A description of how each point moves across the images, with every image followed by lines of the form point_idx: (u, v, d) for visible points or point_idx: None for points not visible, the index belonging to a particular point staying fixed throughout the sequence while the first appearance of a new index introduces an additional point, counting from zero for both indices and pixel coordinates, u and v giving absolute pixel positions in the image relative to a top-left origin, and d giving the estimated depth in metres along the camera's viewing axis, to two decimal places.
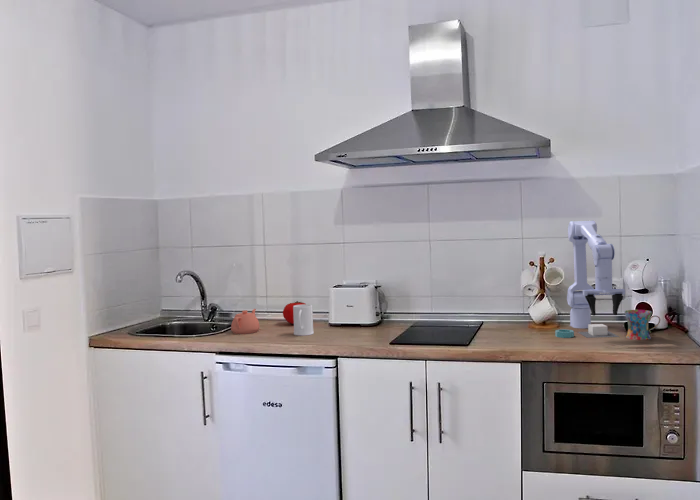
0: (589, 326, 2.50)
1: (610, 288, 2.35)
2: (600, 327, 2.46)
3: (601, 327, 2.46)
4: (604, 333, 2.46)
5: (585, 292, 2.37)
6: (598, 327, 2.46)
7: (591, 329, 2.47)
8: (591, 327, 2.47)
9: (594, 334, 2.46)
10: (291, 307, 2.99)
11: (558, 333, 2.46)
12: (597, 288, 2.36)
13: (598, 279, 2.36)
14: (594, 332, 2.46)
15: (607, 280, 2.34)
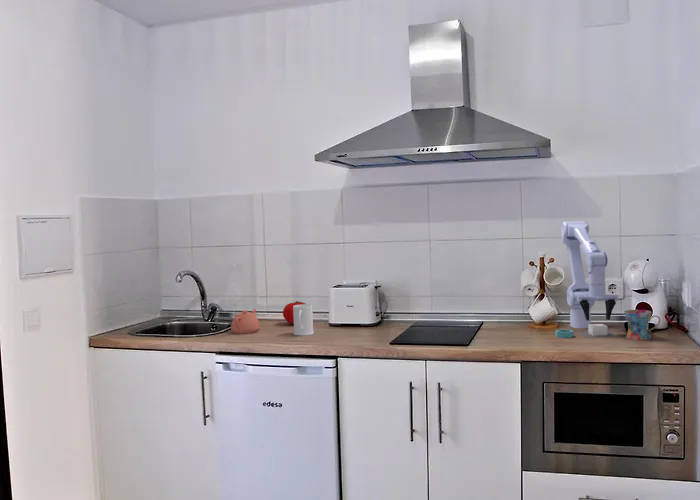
0: (589, 326, 2.50)
1: (603, 294, 2.45)
2: (600, 327, 2.46)
3: (601, 327, 2.46)
4: (604, 333, 2.46)
5: (579, 298, 2.47)
6: (598, 327, 2.46)
7: (591, 329, 2.47)
8: (591, 327, 2.47)
9: (594, 334, 2.46)
10: (291, 307, 2.99)
11: (558, 333, 2.46)
12: (591, 294, 2.47)
13: (592, 285, 2.46)
14: (594, 332, 2.46)
15: (600, 286, 2.45)
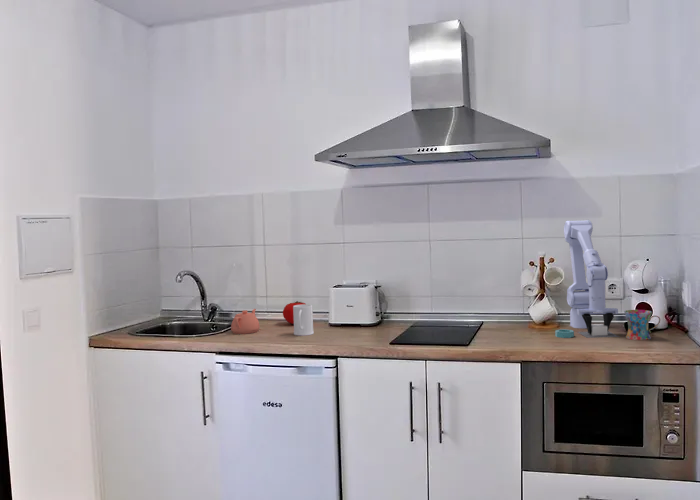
0: None
1: (603, 308, 2.46)
2: (600, 327, 2.46)
3: (601, 327, 2.46)
4: (604, 333, 2.46)
5: (579, 311, 2.47)
6: (598, 327, 2.46)
7: None
8: None
9: (594, 334, 2.46)
10: (291, 307, 2.99)
11: (558, 333, 2.46)
12: (591, 308, 2.47)
13: (592, 299, 2.46)
14: (594, 332, 2.46)
15: (600, 300, 2.45)
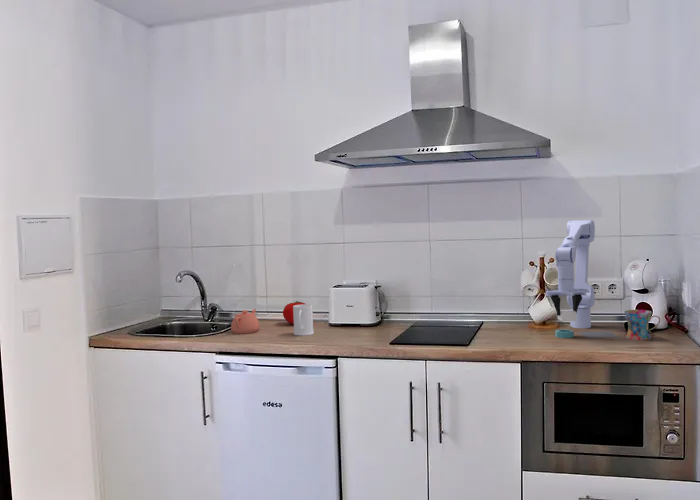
0: None
1: (572, 289, 2.44)
2: (569, 312, 2.44)
3: (570, 312, 2.44)
4: (573, 318, 2.44)
5: (548, 293, 2.46)
6: (567, 312, 2.44)
7: (560, 315, 2.45)
8: (560, 313, 2.45)
9: (563, 319, 2.44)
10: (291, 307, 2.99)
11: (558, 333, 2.46)
12: (559, 289, 2.45)
13: (560, 280, 2.45)
14: (563, 317, 2.44)
15: (569, 281, 2.43)
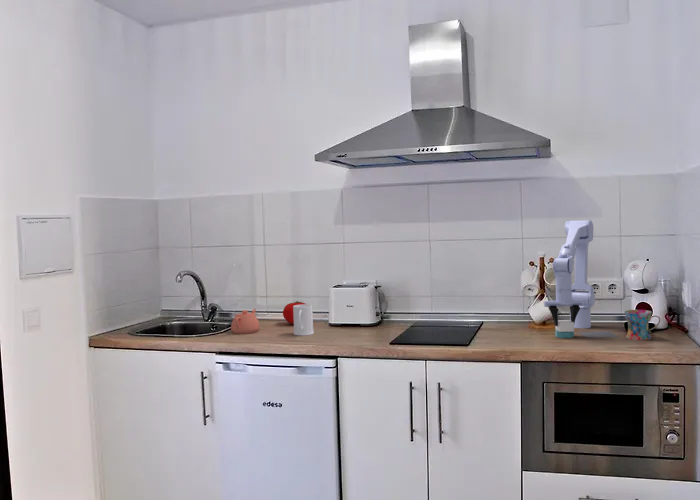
0: None
1: (569, 300, 2.44)
2: (566, 323, 2.44)
3: (567, 323, 2.44)
4: (570, 329, 2.44)
5: (546, 303, 2.46)
6: (564, 323, 2.44)
7: (558, 325, 2.46)
8: (558, 323, 2.46)
9: (560, 330, 2.44)
10: (291, 307, 2.99)
11: (558, 333, 2.46)
12: (557, 300, 2.46)
13: (558, 291, 2.45)
14: (560, 328, 2.44)
15: (566, 292, 2.44)
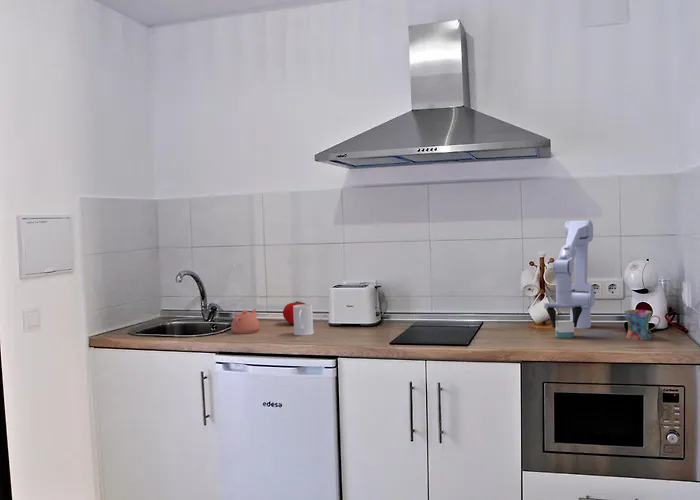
0: (556, 323, 2.48)
1: (569, 301, 2.44)
2: (567, 324, 2.44)
3: (568, 324, 2.44)
4: (571, 330, 2.44)
5: (546, 305, 2.46)
6: (565, 324, 2.44)
7: (558, 326, 2.46)
8: (558, 324, 2.46)
9: (561, 331, 2.44)
10: (291, 307, 2.99)
11: (558, 333, 2.46)
12: (557, 301, 2.46)
13: (558, 293, 2.45)
14: (561, 329, 2.44)
15: (566, 294, 2.44)
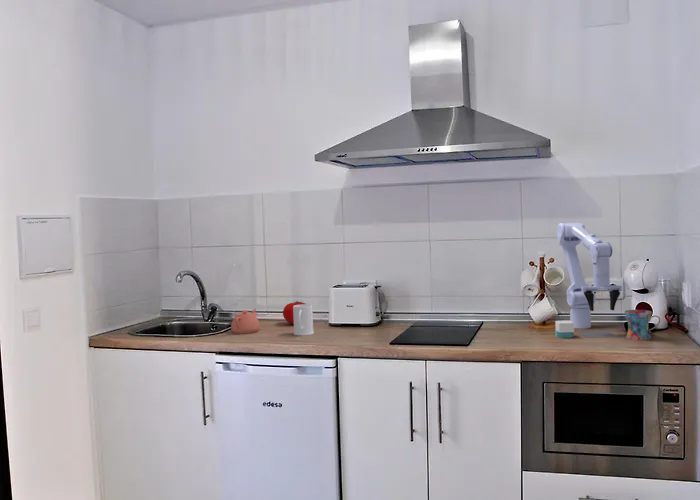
0: (556, 323, 2.48)
1: (607, 285, 2.46)
2: (567, 324, 2.44)
3: (568, 324, 2.44)
4: (571, 330, 2.44)
5: (584, 288, 2.48)
6: (565, 324, 2.44)
7: (558, 326, 2.46)
8: (558, 324, 2.46)
9: (561, 331, 2.44)
10: (291, 307, 2.99)
11: (558, 333, 2.46)
12: (595, 285, 2.48)
13: (596, 276, 2.47)
14: (561, 329, 2.44)
15: (605, 277, 2.46)
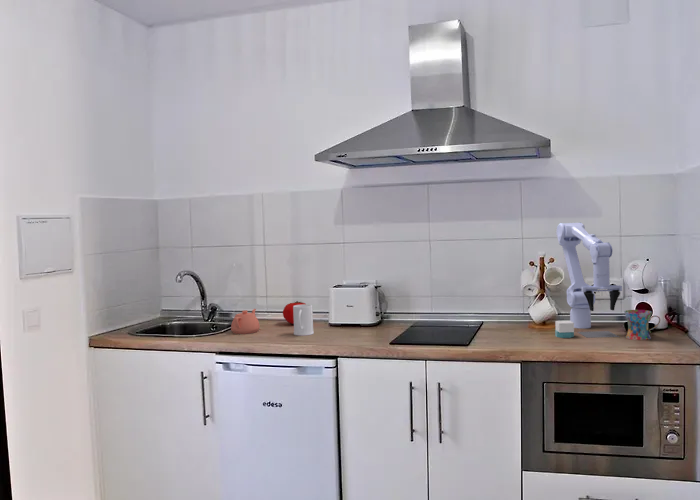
0: (556, 323, 2.48)
1: (607, 285, 2.46)
2: (567, 324, 2.44)
3: (568, 324, 2.44)
4: (571, 330, 2.44)
5: (584, 288, 2.48)
6: (565, 324, 2.44)
7: (558, 326, 2.46)
8: (558, 324, 2.46)
9: (561, 331, 2.44)
10: (291, 307, 2.99)
11: (558, 333, 2.46)
12: (595, 285, 2.48)
13: (596, 276, 2.47)
14: (561, 329, 2.44)
15: (605, 277, 2.46)
